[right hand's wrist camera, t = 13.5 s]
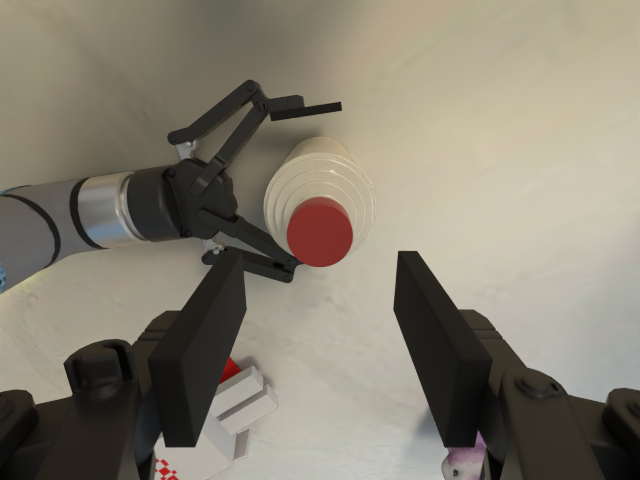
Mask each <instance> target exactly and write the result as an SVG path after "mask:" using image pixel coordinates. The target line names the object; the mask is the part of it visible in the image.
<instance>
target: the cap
mask: <svg viewBox="0 0 640 480" xmlns="http://www.w3.org/2000/svg"><path fill="white" fill-rule="evenodd" d="M352 242H353V229H352V225H351V222H350V218H349V216H348V213H347V212H346V210H345V209H344V208H343V206H341V205H340V204H339V203H338V202H336V201H334V200H332V199H330V198H325V197H315V198H310V199H308V200H305V201H304V202H302V203H301V204H299V205H298V206H297V207H296V208H295V210H294V211H293V213H292V215H291V218H290V221H289V224H288V228H287V243H288V246H289V248H290V250H291V252H292V253H293V255H294V256H295V257H296V258H297V259H298V260H300V261H301V262H303V263H305V264H307V265H310V266H314V267H326V266H330V265H333V264H335V263H337V262H339V261H340V260H341V259H343V258H344V257H345V256H346V254H347V253H348V252H349V250H350V248H351V246H352Z"/></svg>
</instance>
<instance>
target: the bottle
mask: <svg viewBox="0 0 640 480" xmlns="http://www.w3.org/2000/svg"><path fill="white" fill-rule="evenodd" d="M315 197H325V198H330V199H332V200H334V201H336V202H338V203H339V204H340V205H341V206H343V208H344V209H345V210H346V212H347V213H348V216H349V218H350V222H351V225H352V229H353V242H352V246H351V248H350V250H349V252H348V253H347V254H346V256H347V255H349V254H351V253H352V252H354V251H355V250H356V249H357V248H359V247H360V246H361V245H362V244H363V242H364V241H365V240H366V239H367V237H368V235H369V234H370V232H371V230H372V228H373V225H374V222H375V218H376V197H375V193H374V190H373V187H372V185H371V183H370V181H369V179H368V178H367V176H366V175H365V174H364V172H363V171H362V169H361V168H360V167H359V165H358V164H357V163H356V161H355V160H354V158H353V157H352V156H351V154H350V153H349V152H348V150H347V149H346V148H345V147H344V146H343V145H342V144H341V143H340V142H338V141H336V140H334V139H332V138H329V137H324V136H316V137H311V138H308V139H306V140H303V141H302V142H300V143H299V144H298V145H297V146H296V147H295V148H294V149H293V150H292V151H291V153H290V154H289V156H288V157H287V158H286V160H285V161H284V162H283V164H282V165H281V166H280V168H279V169H278V170H277V172H276V173H275V175H274V176H273V178H272V179H271V181H270V183H269V185H268V187H267V189H266V192H265V196H264V204H263V211H264V218H265V223H266V225H267V228H268V230H269V232H270V234H271V236H272V237H273V239H274V240H275V241H276V243H277V244H278V245H279V246H280V247H281V248H282V249H284V250H285V251H286V252H288V253H289V254H291V255H293V253H292V252H291V250H290V248H289V246H288V243H287V228H288V224H289V221H290V218H291V215H292V213H293V211H294V210H295V208H296V207H297V206H298V205H299V204H301V203H302V202H304V201H305V200H308V199H310V198H315ZM293 256H294V255H293Z"/></svg>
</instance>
